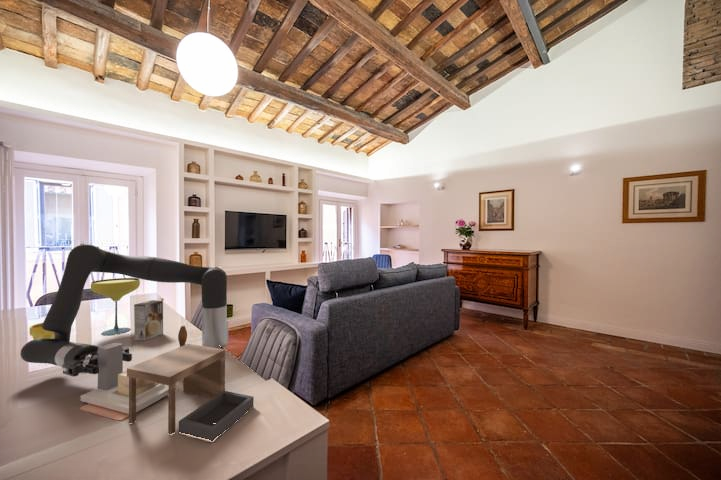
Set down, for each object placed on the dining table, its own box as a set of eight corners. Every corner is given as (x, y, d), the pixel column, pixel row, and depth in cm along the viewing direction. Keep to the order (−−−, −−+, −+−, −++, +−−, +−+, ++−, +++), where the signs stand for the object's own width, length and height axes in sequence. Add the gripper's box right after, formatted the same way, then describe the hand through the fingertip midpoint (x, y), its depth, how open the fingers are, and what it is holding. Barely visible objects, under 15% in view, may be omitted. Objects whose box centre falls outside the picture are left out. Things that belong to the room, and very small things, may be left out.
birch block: (140, 385, 84) (140, 365, 84) (155, 388, 82) (155, 368, 82) (117, 396, 78) (117, 374, 78) (133, 399, 76) (133, 377, 76)
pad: (140, 380, 91) (140, 379, 91) (178, 388, 86) (178, 388, 86) (78, 409, 75) (78, 408, 75) (120, 421, 71) (120, 420, 71)
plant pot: (24, 349, 115) (24, 325, 114) (59, 341, 124) (59, 319, 124) (36, 353, 111) (36, 329, 111) (71, 344, 120) (71, 321, 120)
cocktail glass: (132, 323, 150) (133, 277, 149) (145, 330, 139) (145, 280, 139) (86, 332, 135) (86, 281, 135) (95, 341, 124) (96, 284, 124)
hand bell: (170, 370, 98) (170, 324, 98) (197, 365, 101) (197, 321, 101) (164, 381, 90) (164, 331, 90) (194, 376, 94) (194, 328, 94)
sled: (127, 380, 90) (127, 338, 89) (175, 390, 84) (175, 345, 84) (80, 401, 78) (80, 352, 78) (131, 414, 72) (132, 362, 72)
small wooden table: (187, 389, 85) (187, 343, 85) (224, 397, 81) (225, 349, 81) (126, 424, 69) (126, 368, 69) (169, 437, 65) (169, 377, 65)
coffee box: (152, 333, 136) (152, 299, 135) (163, 334, 134) (163, 300, 134) (133, 339, 127) (133, 304, 126) (145, 340, 125) (145, 305, 125)
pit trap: (223, 401, 80) (223, 390, 80) (253, 407, 77) (253, 396, 77) (178, 433, 66) (178, 421, 66) (212, 443, 63) (212, 430, 63)
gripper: (47, 353, 81) (85, 361, 76) (105, 336, 94) (140, 342, 89) (47, 379, 81) (84, 388, 76) (105, 359, 94) (140, 365, 89)
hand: (114, 363), depth 83 cm, fingers open, 8 cm apart
